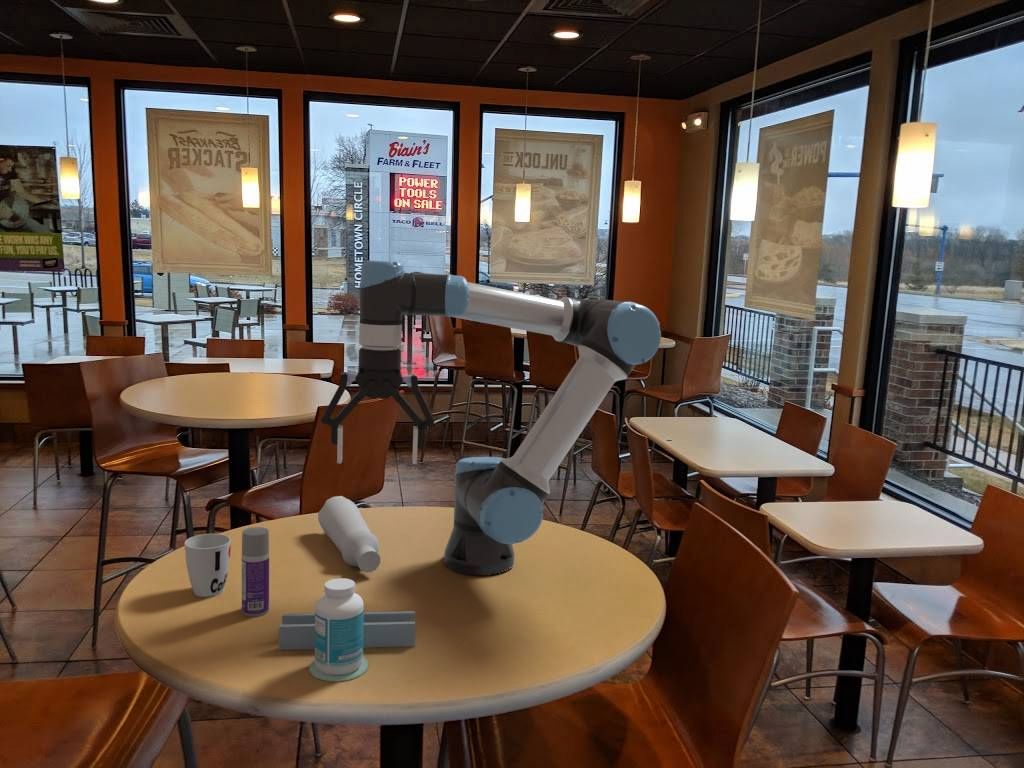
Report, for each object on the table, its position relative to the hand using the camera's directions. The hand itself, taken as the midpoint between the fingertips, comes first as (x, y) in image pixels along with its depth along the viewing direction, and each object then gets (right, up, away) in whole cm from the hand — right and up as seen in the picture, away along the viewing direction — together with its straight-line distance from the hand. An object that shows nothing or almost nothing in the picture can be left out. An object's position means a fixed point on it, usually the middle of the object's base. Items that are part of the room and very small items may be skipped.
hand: (377, 462), depth 146 cm
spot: (-2, -30, -21) cm, 37 cm away
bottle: (-11, -23, +27) cm, 37 cm away
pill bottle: (-3, -30, -21) cm, 37 cm away
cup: (-33, -25, +4) cm, 41 cm away
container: (-21, -27, -3) cm, 34 cm away
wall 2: (-3, -29, -11) cm, 31 cm away
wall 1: (-2, -29, -15) cm, 33 cm away
